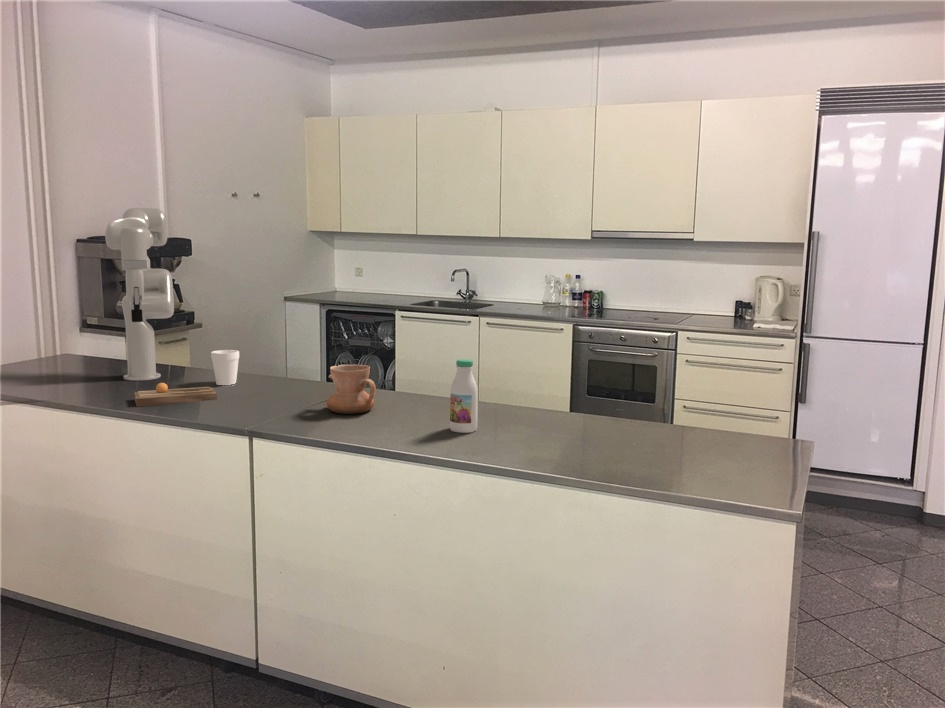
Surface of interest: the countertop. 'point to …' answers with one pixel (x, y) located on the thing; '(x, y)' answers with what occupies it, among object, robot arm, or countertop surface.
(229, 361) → the foam cup
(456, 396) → the milk bottle
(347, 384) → the ceramic jug
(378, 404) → the countertop surface
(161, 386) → the ball
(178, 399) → the runway
